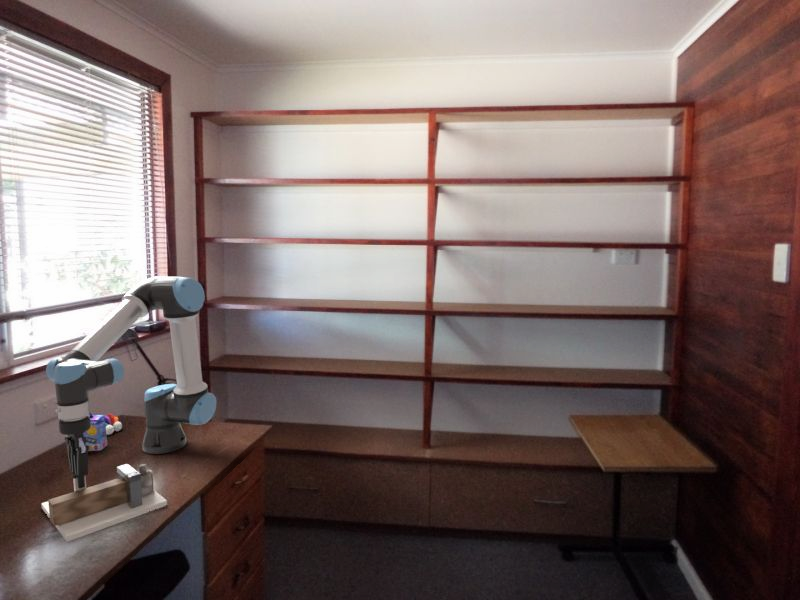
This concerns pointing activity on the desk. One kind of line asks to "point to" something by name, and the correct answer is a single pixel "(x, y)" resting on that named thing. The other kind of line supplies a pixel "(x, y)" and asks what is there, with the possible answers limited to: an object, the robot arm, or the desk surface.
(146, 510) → the board
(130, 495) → the bracket
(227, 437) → the desk surface
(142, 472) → the link
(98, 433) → the ink cartridge box
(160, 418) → the robot arm
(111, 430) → the multicoloured rounded cluster
